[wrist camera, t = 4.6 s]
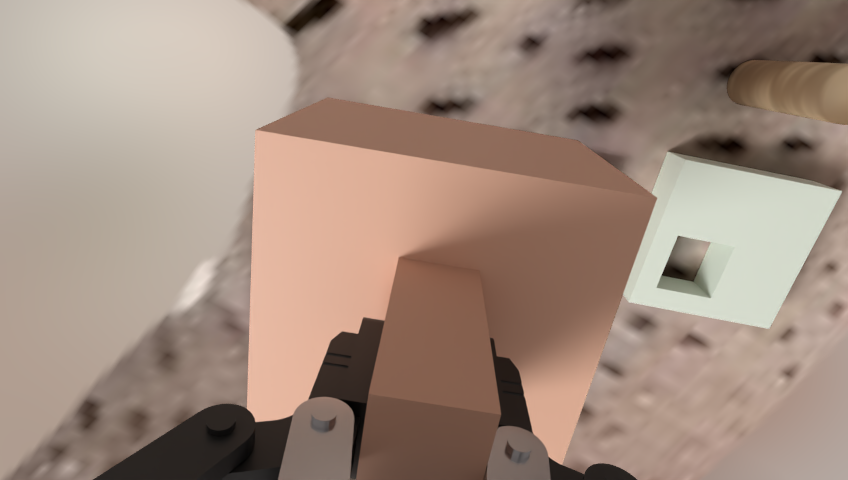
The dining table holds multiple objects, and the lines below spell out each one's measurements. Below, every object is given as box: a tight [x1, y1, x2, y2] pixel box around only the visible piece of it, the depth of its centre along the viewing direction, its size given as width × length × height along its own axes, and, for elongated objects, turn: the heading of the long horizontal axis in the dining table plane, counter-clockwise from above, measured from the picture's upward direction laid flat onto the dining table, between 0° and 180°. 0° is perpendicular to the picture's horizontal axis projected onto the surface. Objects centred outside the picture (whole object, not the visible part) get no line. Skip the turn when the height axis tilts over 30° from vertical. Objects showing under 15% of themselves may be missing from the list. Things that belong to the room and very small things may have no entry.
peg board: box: [623, 152, 842, 329], centre depth 39 cm, size 12×12×3 cm
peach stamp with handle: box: [247, 98, 657, 480], centre depth 16 cm, size 11×11×15 cm
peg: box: [727, 60, 848, 125], centre depth 31 cm, size 3×3×10 cm
